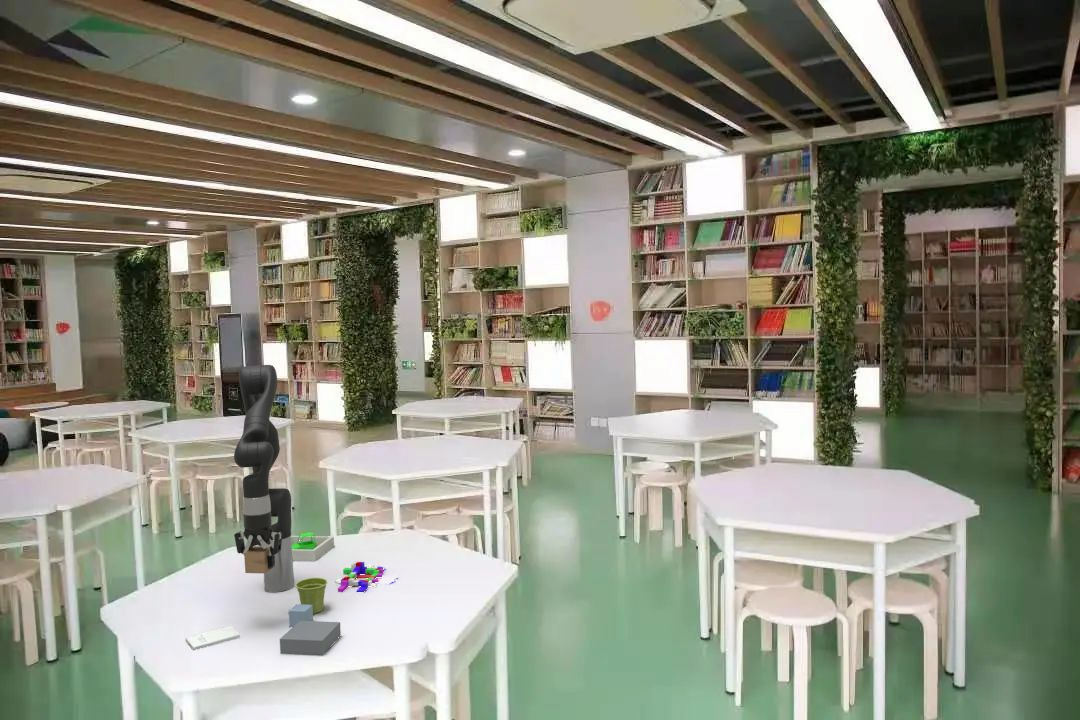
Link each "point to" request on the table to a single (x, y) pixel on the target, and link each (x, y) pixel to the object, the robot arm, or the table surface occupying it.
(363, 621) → the table surface
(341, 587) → the building block set
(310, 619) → the blue cube
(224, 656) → the table surface
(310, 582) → the plant pot
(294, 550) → the corral
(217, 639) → the external hard drive
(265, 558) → the walnut cube
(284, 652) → the base plinth
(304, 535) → the toy car
